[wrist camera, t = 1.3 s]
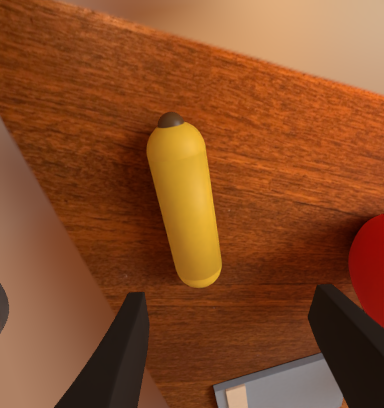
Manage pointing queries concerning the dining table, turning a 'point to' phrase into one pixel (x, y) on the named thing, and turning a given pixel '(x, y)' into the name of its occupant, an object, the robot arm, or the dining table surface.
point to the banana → (185, 199)
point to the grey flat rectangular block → (283, 387)
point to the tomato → (369, 267)
